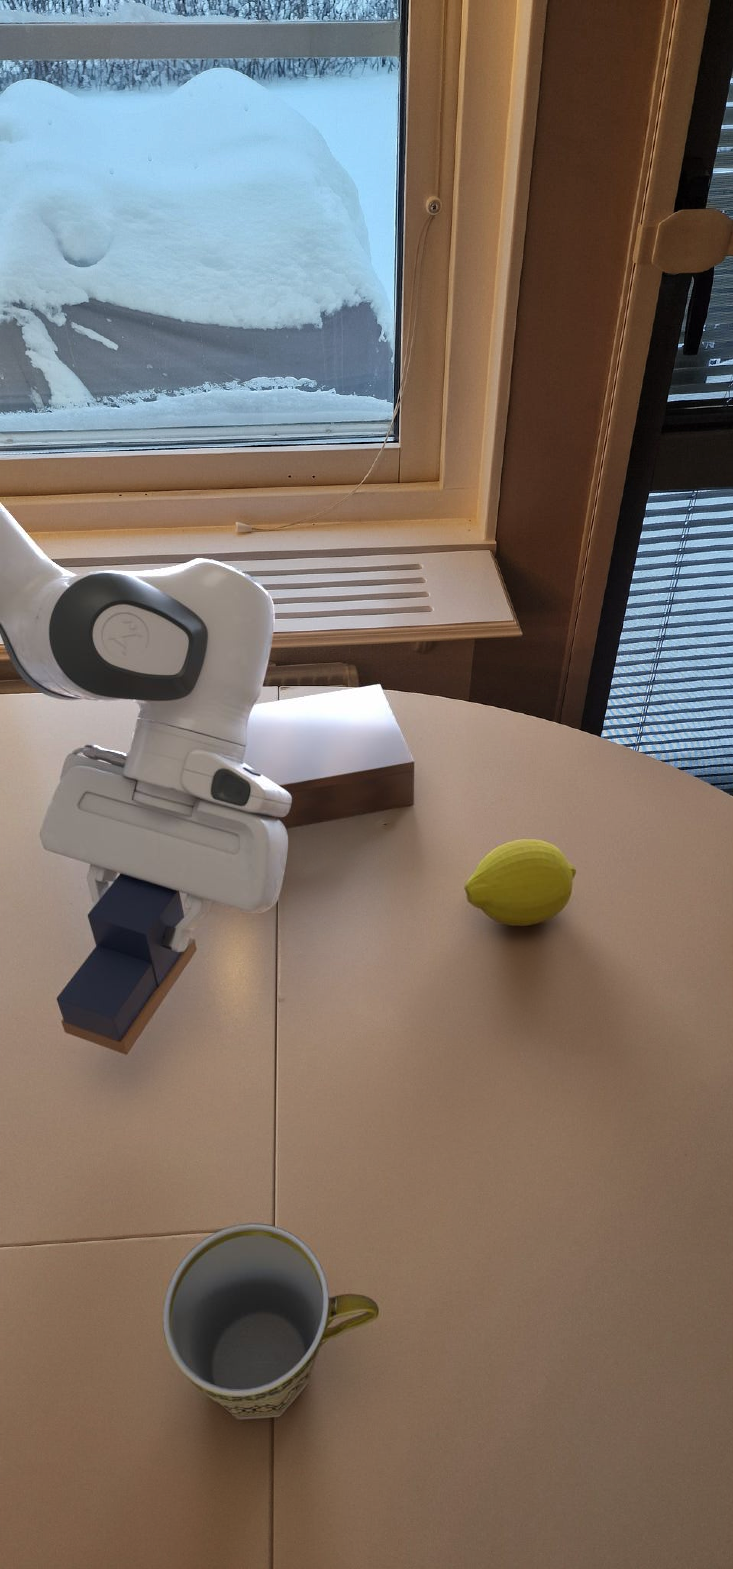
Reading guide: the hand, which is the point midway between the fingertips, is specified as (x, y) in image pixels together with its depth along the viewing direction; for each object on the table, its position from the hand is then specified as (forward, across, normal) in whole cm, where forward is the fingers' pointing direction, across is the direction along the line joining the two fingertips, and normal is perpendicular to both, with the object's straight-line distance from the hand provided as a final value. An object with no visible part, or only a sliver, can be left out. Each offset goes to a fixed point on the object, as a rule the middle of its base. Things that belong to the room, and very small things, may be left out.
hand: (137, 937), depth 82 cm
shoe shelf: (-16, -1, +32) cm, 36 cm away
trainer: (+4, 0, +2) cm, 5 cm away
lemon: (-8, +25, +25) cm, 37 cm away
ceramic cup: (+23, +22, -6) cm, 32 cm away
